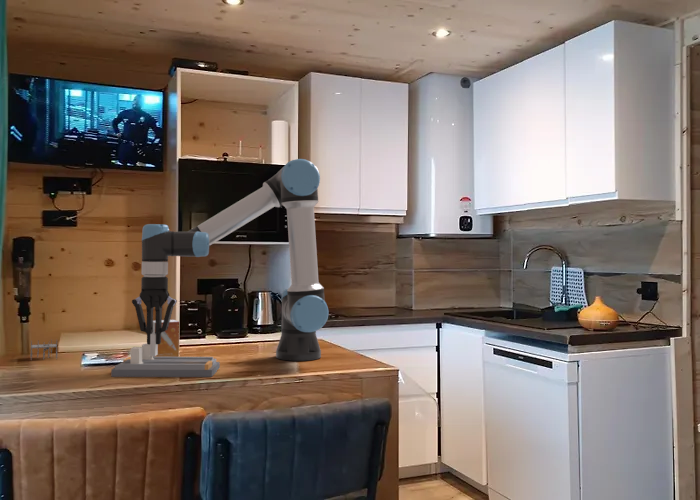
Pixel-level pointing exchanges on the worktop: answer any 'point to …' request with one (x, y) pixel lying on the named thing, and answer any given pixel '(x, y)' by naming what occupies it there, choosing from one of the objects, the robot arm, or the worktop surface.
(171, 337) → the small box
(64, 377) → the worktop surface
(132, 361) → the tab
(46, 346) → the building frame
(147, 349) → the tab
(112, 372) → the switch board
